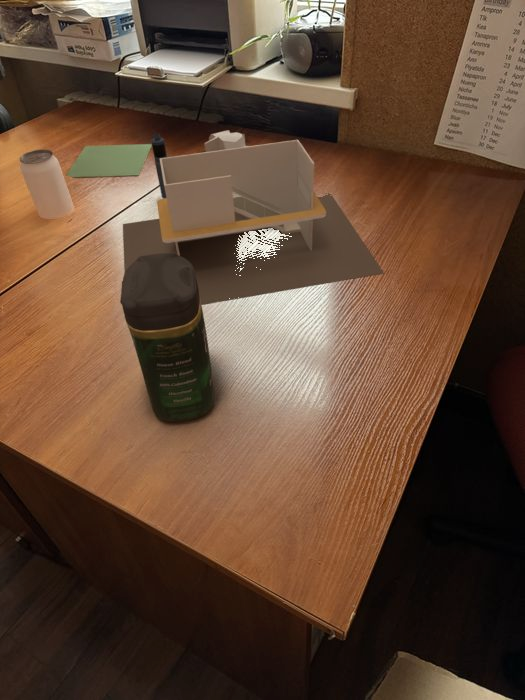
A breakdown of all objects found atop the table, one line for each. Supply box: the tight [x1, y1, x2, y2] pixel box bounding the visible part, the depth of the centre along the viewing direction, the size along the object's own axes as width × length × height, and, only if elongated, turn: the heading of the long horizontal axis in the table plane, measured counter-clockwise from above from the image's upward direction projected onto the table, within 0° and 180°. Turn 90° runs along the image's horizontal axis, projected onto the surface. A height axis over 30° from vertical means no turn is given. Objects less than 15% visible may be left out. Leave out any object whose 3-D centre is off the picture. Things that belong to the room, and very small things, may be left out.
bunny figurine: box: [203, 129, 249, 152], centre depth 109 cm, size 10×5×15 cm
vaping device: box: [150, 133, 175, 199], centre depth 95 cm, size 3×5×12 cm, turn 55°
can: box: [19, 148, 75, 224], centre depth 91 cm, size 6×6×12 cm
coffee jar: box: [119, 253, 215, 423], centre depth 56 cm, size 10×8×19 cm
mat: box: [65, 143, 153, 179], centre depth 113 cm, size 16×16×1 cm
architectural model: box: [156, 139, 327, 254], centre depth 80 cm, size 26×13×15 cm, turn 102°
